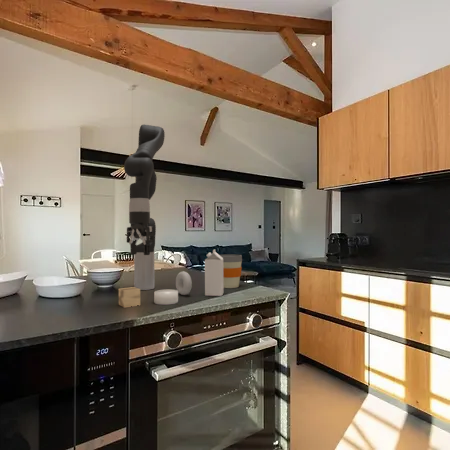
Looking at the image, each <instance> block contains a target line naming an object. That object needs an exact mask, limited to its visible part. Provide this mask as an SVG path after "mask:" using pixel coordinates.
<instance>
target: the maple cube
mask: <svg viewBox="0 0 450 450" xmlns="http://www.w3.org/2000/svg"><path fill="white" fill-rule="evenodd" d="M118 305H119V306H121V307H123V308H130V307H131V306H132V307H138V306H137V305H139V306H141V290H140V289H138V288H136V287H134V286H133V287H131V286H130V287H124V288H123V287H121V288H118Z"/></svg>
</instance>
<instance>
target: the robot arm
mask: <svg viewBox="0 0 450 450" xmlns="http://www.w3.org/2000/svg"><path fill="white" fill-rule="evenodd" d="M165 135H166V134H165V130H164V128H163V127H162V126H157V125H152V124H151V125H149V124H141V126H139V131H138V146H137V149H136V150H135V152H134V153H133V154H131V155H129V156H128V157H127V158H126V159H125V161H124V164H123V169H124V173H125V174H126V175H127V176H129V177H133V178H134V177H135V182H133V183H131V184H130V185H129V203H128V215H129V216H128V221H129V224H130V226H128V227H126V243H127V244H129V245H130V255H133V257H134V258H133V260H134V261H133V263H134V264H133V268H134V272H133V275H134V278H133V283H134V285H133V287H136V288H138V289H140V291H145V290H146V291H148V290H153V289H155V246H156V231H157V229H156V228H157V226H156V221H155V220H154V219H153V218H152V217H151V205H150V200H151V199H152V198H153V196H154V194H155V192H156V188H157V173H156V171H155V170H154V168H155V167H154V166H155V165H154V162H153V159H154V156H155V155H156V153H158V152H159V151H160V149H161V148H162V147H163V145H164V142H165V137H166V136H165ZM138 241H142V242H141V243H139V244H137V242H138Z"/></svg>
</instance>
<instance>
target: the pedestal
mask: <svg viewBox="0 0 450 450" xmlns="http://www.w3.org/2000/svg"><path fill="white" fill-rule="evenodd" d="M153 293H154V294H153V295H154V297H153V299H154V301H153V303H154V304H155V305H174V304H175V305H176V304H177V303H179V292H178V291H177V289H167V288H165V289H159V290H155V291H154V292H153Z"/></svg>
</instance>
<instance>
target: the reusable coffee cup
mask: <svg viewBox="0 0 450 450" xmlns="http://www.w3.org/2000/svg"><path fill="white" fill-rule="evenodd" d="M219 255H220V256H221V257H222V258H223V283H224V289H235V288H239V286H240V279H241V276H242V269H243V267H242V262H243V256H242V254H231V253H229V254H219Z"/></svg>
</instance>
